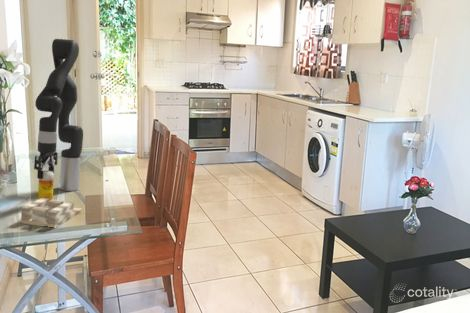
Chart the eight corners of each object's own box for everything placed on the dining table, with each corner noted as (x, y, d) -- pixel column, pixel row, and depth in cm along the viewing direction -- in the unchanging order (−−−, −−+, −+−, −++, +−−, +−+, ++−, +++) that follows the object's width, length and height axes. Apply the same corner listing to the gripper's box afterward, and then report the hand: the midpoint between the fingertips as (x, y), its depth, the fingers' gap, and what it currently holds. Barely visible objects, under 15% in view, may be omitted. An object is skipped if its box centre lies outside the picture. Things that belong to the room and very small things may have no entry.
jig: (52, 207, 181) (52, 193, 180) (82, 211, 180) (82, 197, 178) (21, 223, 159) (21, 207, 158) (54, 228, 158) (55, 212, 157)
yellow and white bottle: (46, 206, 181) (48, 174, 178) (34, 204, 182) (35, 172, 179) (55, 203, 187) (56, 171, 184) (43, 201, 188) (44, 169, 185)
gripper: (48, 138, 187) (46, 172, 189) (29, 141, 173) (28, 178, 175) (63, 140, 186) (62, 174, 188) (46, 144, 172) (44, 181, 174)
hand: (45, 176), depth 182 cm, fingers open, 8 cm apart
